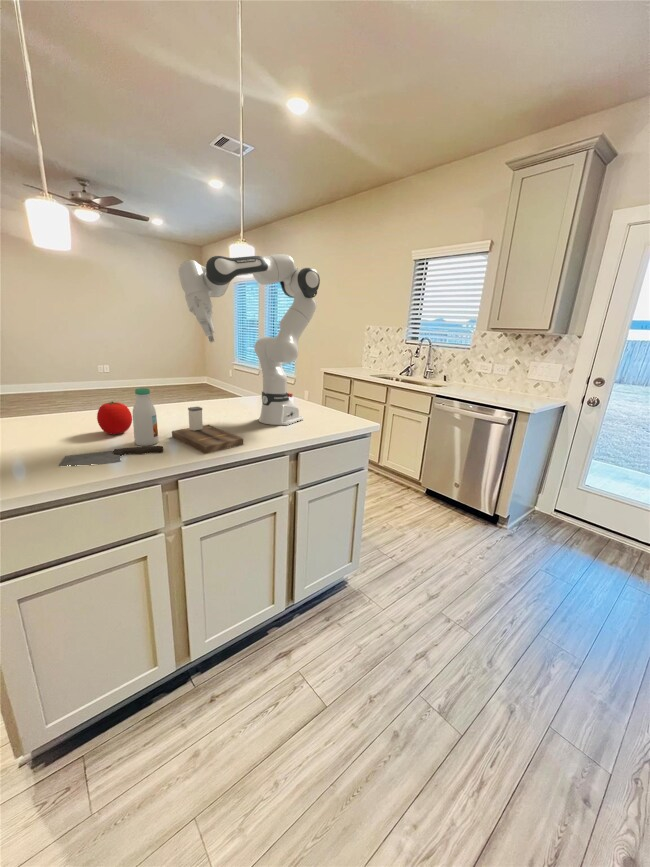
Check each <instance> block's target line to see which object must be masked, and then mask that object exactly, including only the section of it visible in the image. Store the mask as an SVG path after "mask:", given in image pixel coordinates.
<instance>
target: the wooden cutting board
mask: <svg viewBox="0 0 650 867" xmlns="http://www.w3.org/2000/svg"><path fill="white" fill-rule="evenodd" d="M171 438H173V439H176V440H177V441H179V442H180V443H183V444H185V445H187V446H189V447H191V448H193V449H195V450H197V451H199V452H201V453H203V454H205V455H206V454H210V453H215V452H218V451H223V450H226V449H230V447H231V448H235V447H234V446H236V447H240V446H243V445H244V437H242V436H241V437H240V436H239V435H236V434H234V433H230V432H229V431H226V430H223V429H220V428H219V427H216V426H213V425H211V424H205V425H203V429H200V430H194V431H193V430H191V429H189V427H187V428H180V429H176V430H172V431H171ZM239 445H240V446H239Z"/></svg>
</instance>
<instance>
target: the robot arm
mask: <svg viewBox="0 0 650 867" xmlns="http://www.w3.org/2000/svg"><path fill="white" fill-rule="evenodd" d="M295 264H296V263H295V261H294V259H293V257H291V255H290V254H283V253H279V254H278V253H277V254H269V255H264V256H260V255H250V256H241V257H239V256H238V257H229V256H228V257H227V256H223V255H214V256H211V257H210V258H209V259H207V262H206V264H205V266H203V265H202V264H200V263H198V262H197V261H196V260H194V259H189V260H186V261H184V262H182V263H181V264H180V265H179V267H178V269H177V270H178V276H179V282H180V284H181V285H180V286H181V288H182V290H183V292H184V297H185V301H186V304H187V307H188V311H189V312H190V313H192V314H193V315H194V316H195V317H196V320H197V322H198V323H199V325H200V327H201V328H202V330H203V331H204V335H205V336H206V337H207V338H208V340H209V342H210V343H211V344H212V343H215V338H214V334H215V326H214V323H213V322H214V321H213V316H212V314H213V310H212V308H213V304H212V301H211V298H221V297H223V296H224V295H225V293H226V291H227V290H228V288H229V286H230V283H231V282H232V281H233V280H234V279H235V278H236V277H240V276H247V275H252V276H253V278H254V279H255V281H256V282H257V283H259V284H260V285H264V286H265V285H267V286H268V285H273V284H277V283H279V284H280V287H281V290H282V292H283V293H284V294H285V296H287V297H289V298H293V302H292V304H290V306H289V308H288V310H287V311H286V312H285V314H284V315H283V317H282V318H281V320H280V321H279V325H278V326H279V331H278V333H277V335H276V336H275V337H274V336H273V337H272V336H265V337H260V338H258V339H257V340H256V342H255V344H254V354H256V356H257V358H258V360H259V364H260V368H261V372H262V391H261V402H262V404H261V409H260V410H261V411H260V414H259V418H258V422H260V423H262V424H266V425H272V426H278V425H279V426H289V424H290V425H292V423H293V424H295V422H296V423H298V422H297V421H299V422H301V421H304V420H303V419H304V417H303V416H302V415H300V411H299V408H298V406H297V405H296V404H294V403H293V402H292V401H291V400H290V398H293V396H294V394H293V392H287V386H288V384H287V383H288V376H287V374H286V372H285V370H284V368H283V365H285V364H287V365H288V364H291V363H293V362H295V361H296V360H297V358H298V355H299V348H298V344H299V339H300V337H301V336H302V334H303V332H304V331H305V329H306V328H307V327H308V325H309V323H310V322H311V321H312V318H313V316H314V314H315V312H316V309H317V303H316V301H315V299H314V298H315V297H316V296H317V294H318V289H319V287H320V283H321V279H320V278H321V277H320V274H319V272H318V271H317V270H316V269H314V268H313V267H303V268H301V269H298V268H297V267H296V265H295ZM300 420H301V421H300Z"/></svg>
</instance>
